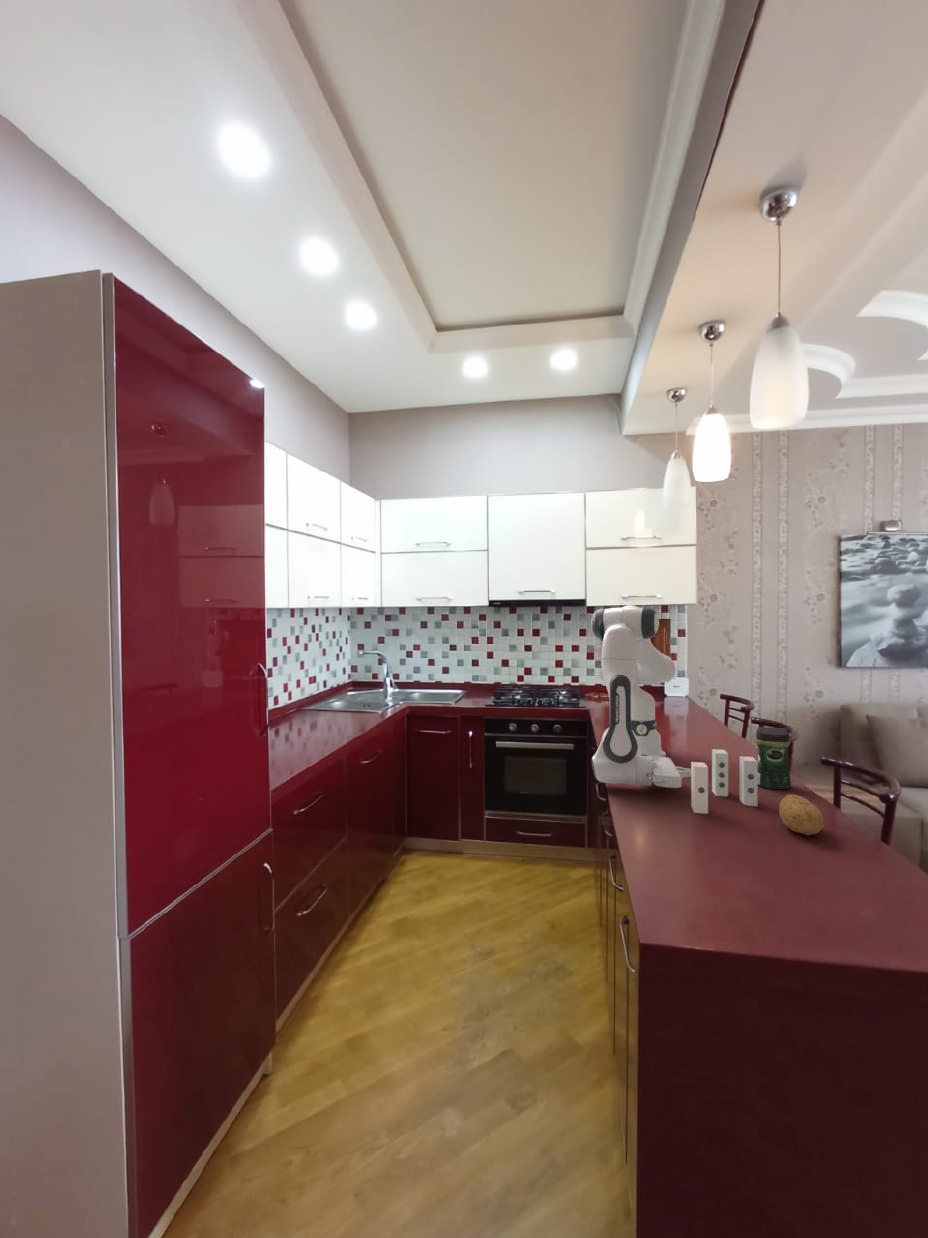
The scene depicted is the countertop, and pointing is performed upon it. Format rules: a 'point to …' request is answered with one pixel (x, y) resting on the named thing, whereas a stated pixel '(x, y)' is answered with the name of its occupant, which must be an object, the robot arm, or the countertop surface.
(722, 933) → the countertop surface
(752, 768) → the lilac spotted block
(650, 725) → the robot arm
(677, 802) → the countertop surface
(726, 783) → the white block
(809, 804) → the potato
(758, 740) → the coffee jar
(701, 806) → the one-pip tile
